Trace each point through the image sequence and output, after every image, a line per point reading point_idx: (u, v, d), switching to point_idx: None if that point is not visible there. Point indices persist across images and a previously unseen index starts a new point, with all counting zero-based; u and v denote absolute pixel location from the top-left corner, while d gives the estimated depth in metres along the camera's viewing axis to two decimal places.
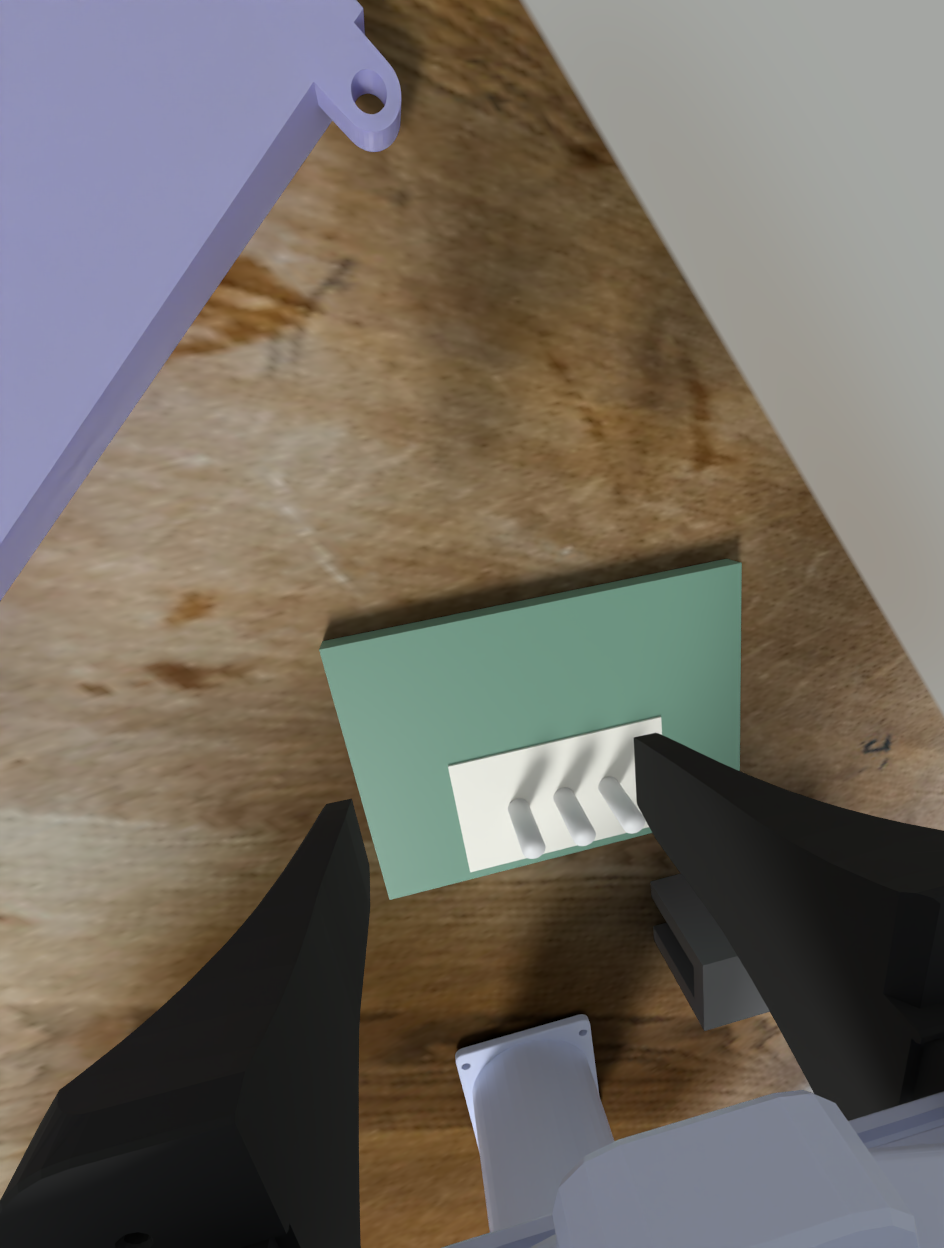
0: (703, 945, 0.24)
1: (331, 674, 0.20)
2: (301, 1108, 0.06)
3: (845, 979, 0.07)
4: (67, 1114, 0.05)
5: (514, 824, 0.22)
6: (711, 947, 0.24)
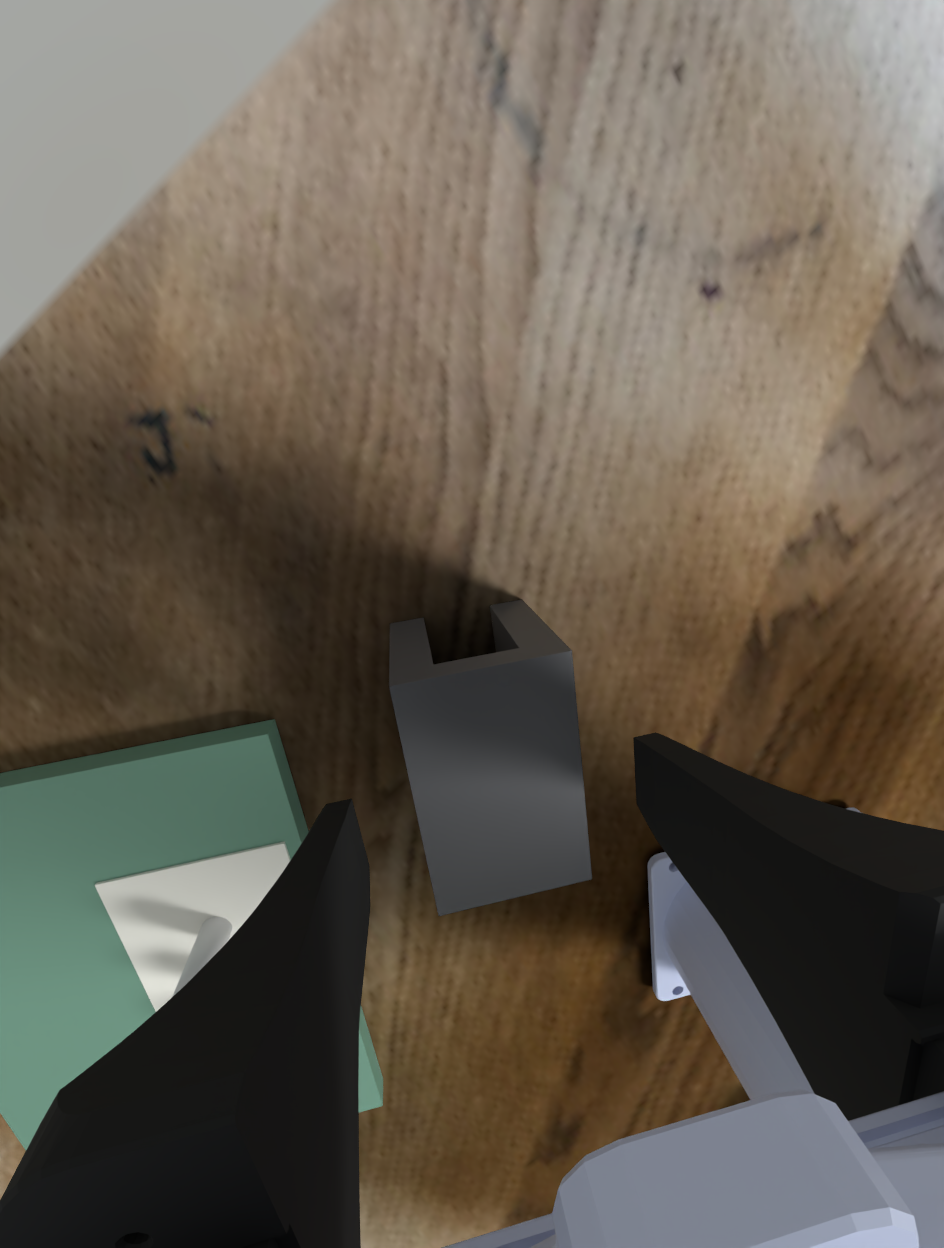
0: None
1: None
2: (301, 1108, 0.06)
3: (845, 979, 0.07)
4: (66, 1114, 0.05)
5: None
6: None
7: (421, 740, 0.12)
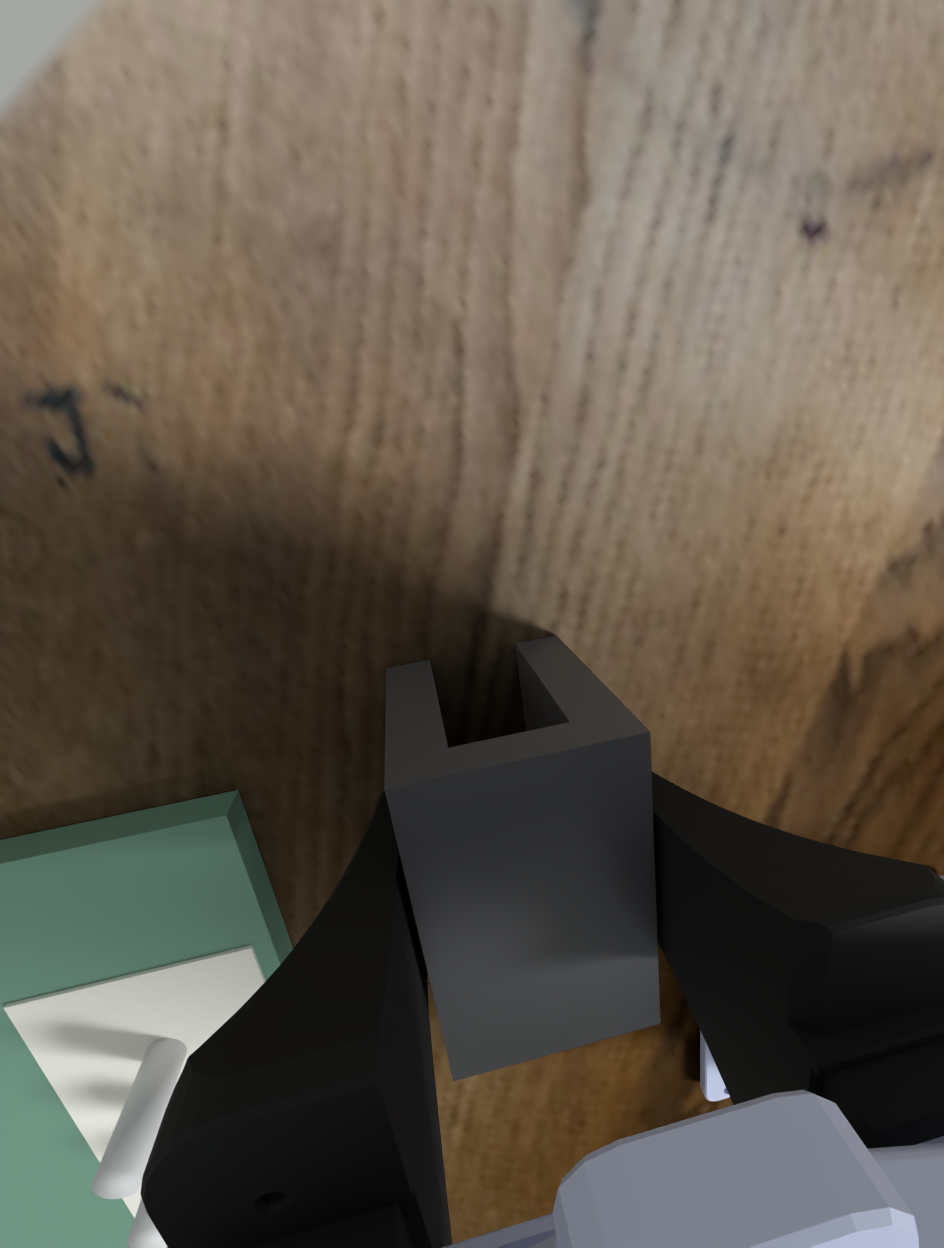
0: None
1: None
2: (408, 1079, 0.06)
3: (757, 1004, 0.07)
4: (207, 1076, 0.05)
5: None
6: None
7: (431, 860, 0.09)
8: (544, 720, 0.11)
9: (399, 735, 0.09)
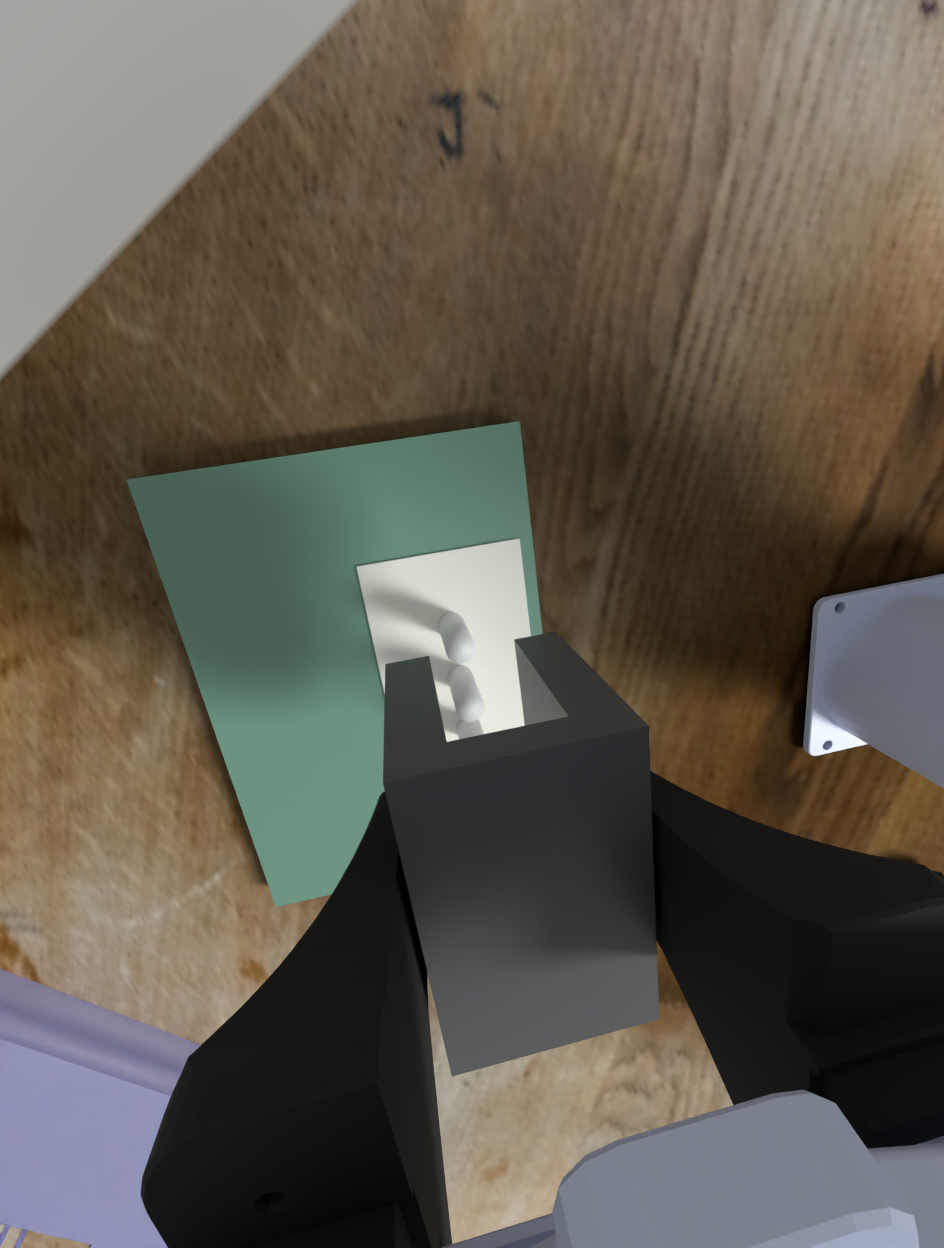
0: None
1: (301, 897, 0.22)
2: (407, 1079, 0.06)
3: (757, 1003, 0.07)
4: (206, 1075, 0.05)
5: None
6: None
7: (430, 854, 0.09)
8: (543, 715, 0.11)
9: (398, 730, 0.09)
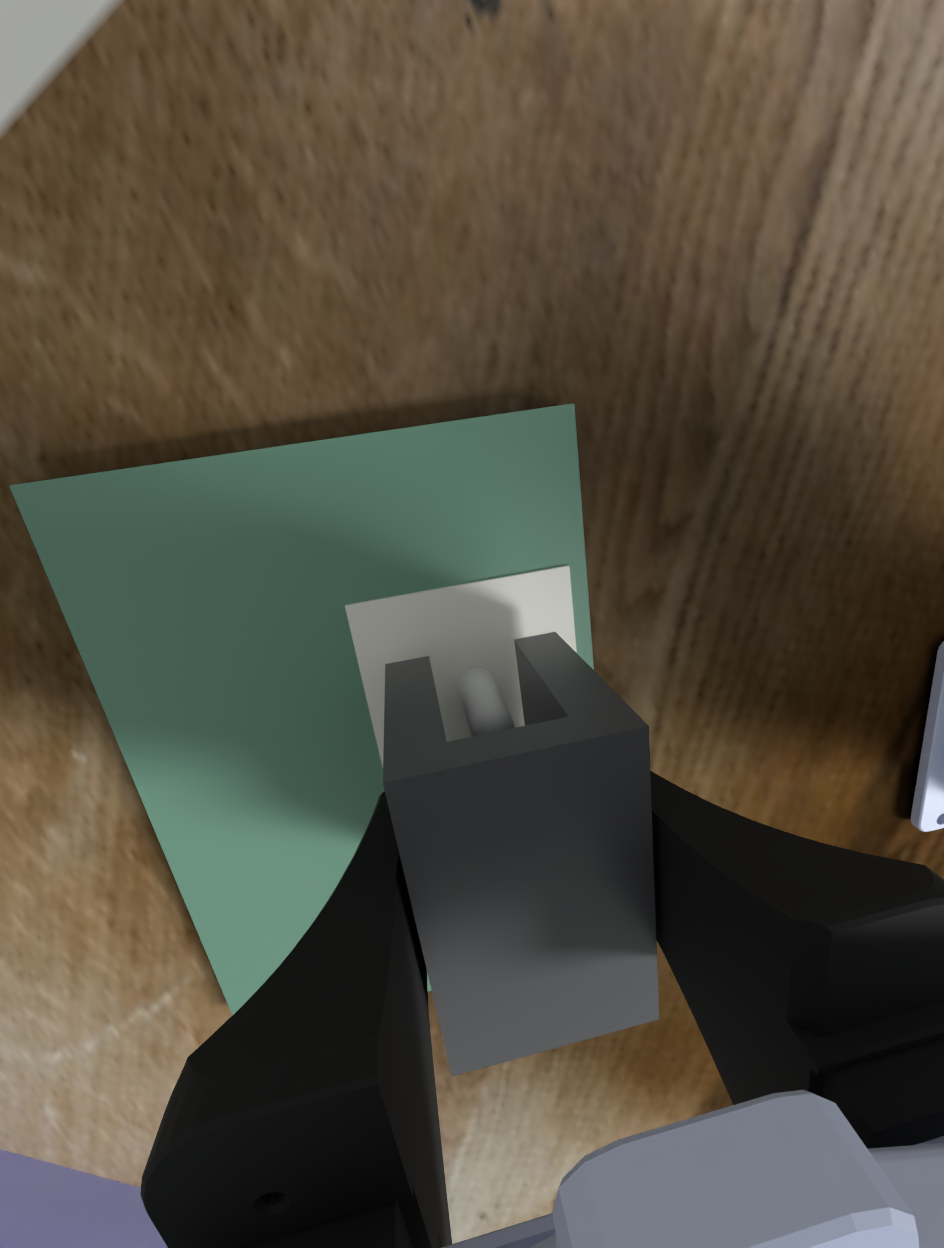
0: None
1: None
2: (407, 1079, 0.06)
3: (757, 1004, 0.07)
4: (207, 1077, 0.05)
5: None
6: None
7: (430, 855, 0.09)
8: (543, 716, 0.11)
9: (398, 730, 0.09)
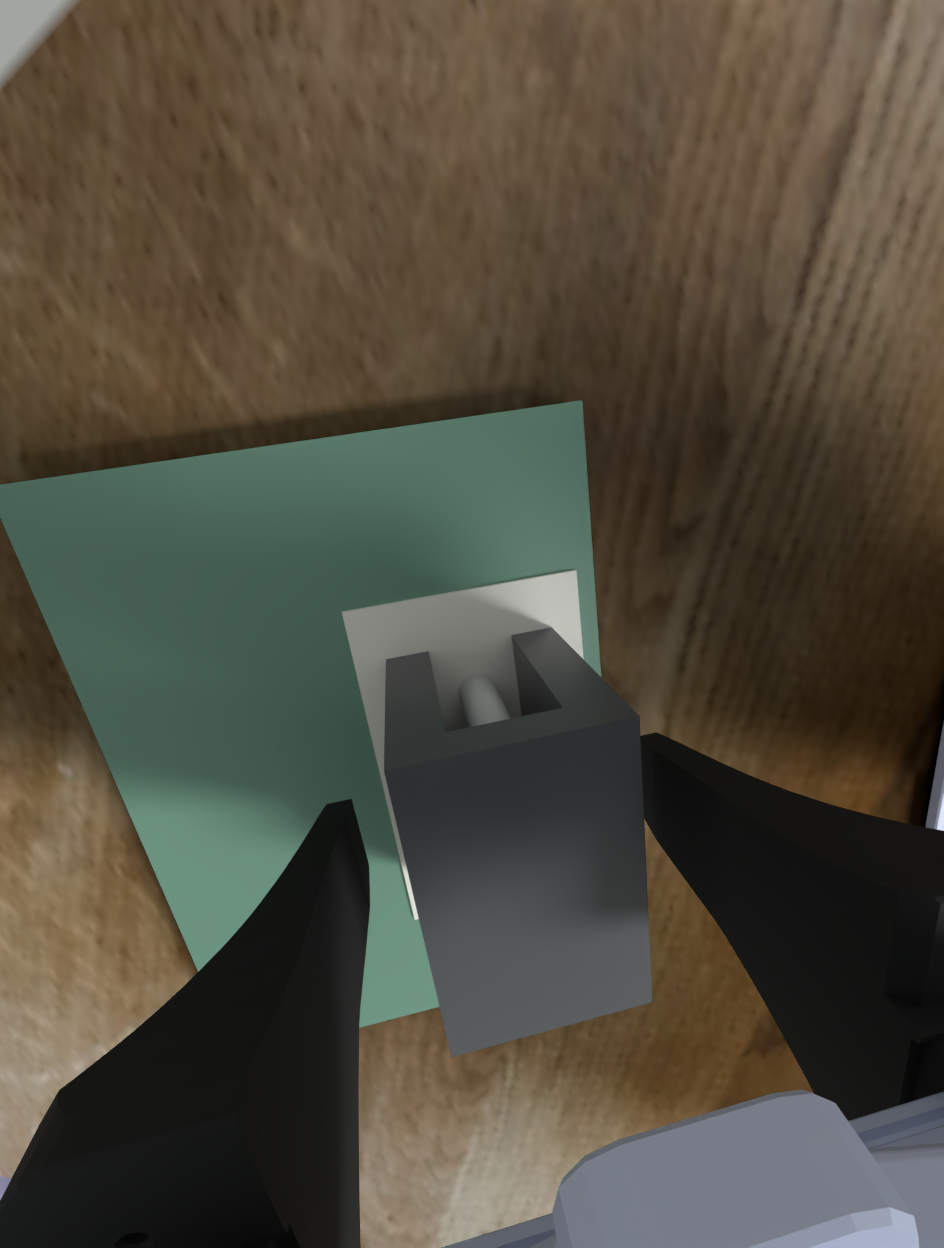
0: None
1: None
2: (301, 1108, 0.06)
3: (845, 979, 0.07)
4: (66, 1114, 0.05)
5: None
6: None
7: (429, 840, 0.09)
8: (539, 708, 0.12)
9: (398, 721, 0.10)
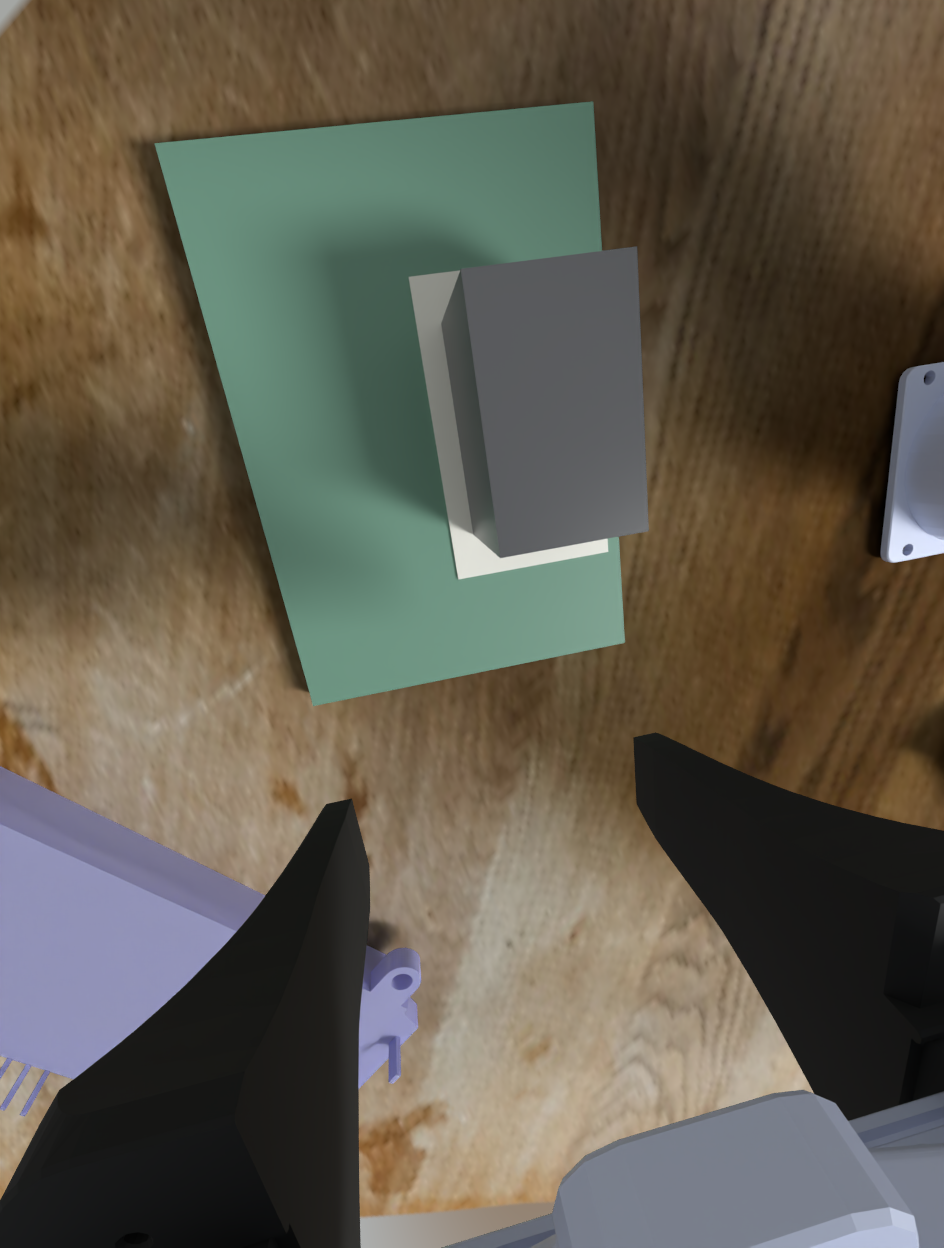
0: (491, 533, 0.15)
1: (340, 695, 0.20)
2: (301, 1108, 0.06)
3: (845, 979, 0.07)
4: (66, 1114, 0.05)
5: None
6: (491, 525, 0.15)
7: (489, 339, 0.13)
8: None
9: None
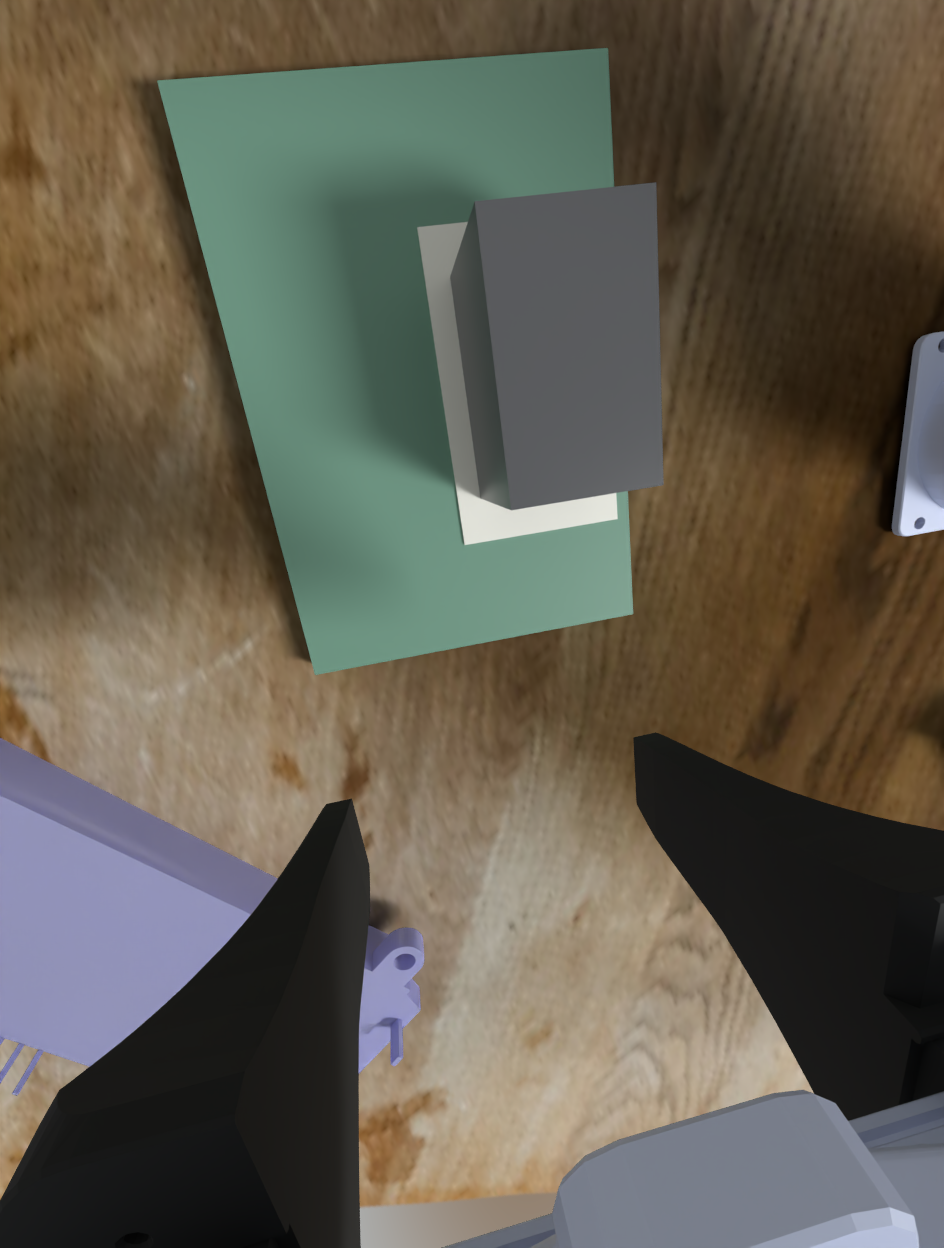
0: (502, 487, 0.14)
1: (343, 664, 0.20)
2: (301, 1108, 0.06)
3: (845, 979, 0.07)
4: (67, 1114, 0.05)
5: None
6: (502, 477, 0.14)
7: (503, 277, 0.12)
8: None
9: None
